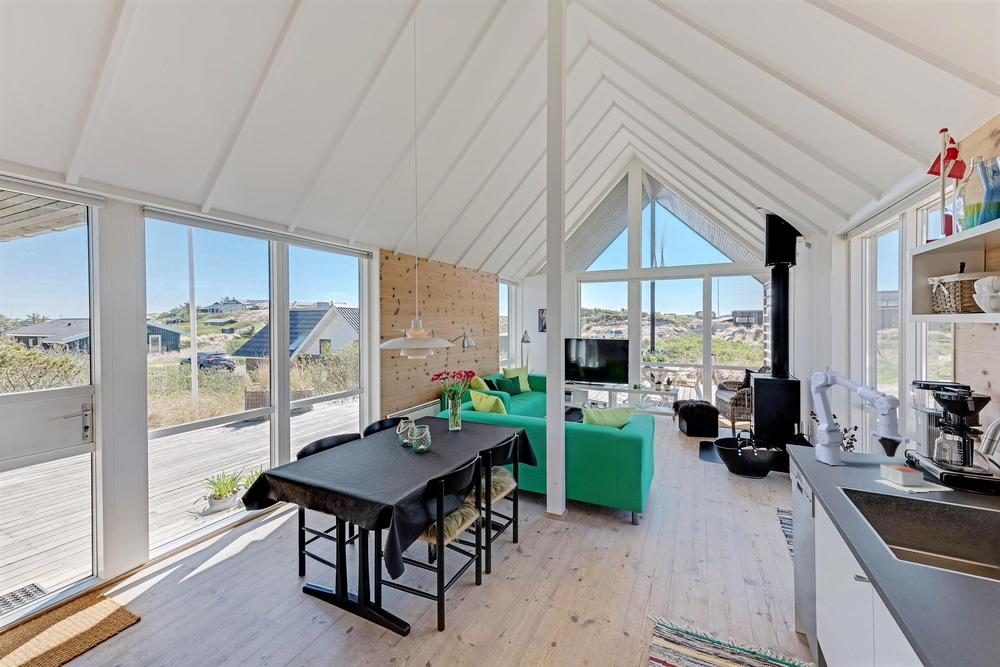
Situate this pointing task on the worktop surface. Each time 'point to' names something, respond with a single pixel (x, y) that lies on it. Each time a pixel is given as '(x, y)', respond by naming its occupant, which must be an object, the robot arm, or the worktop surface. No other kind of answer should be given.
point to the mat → (926, 488)
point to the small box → (902, 475)
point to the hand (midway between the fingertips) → (890, 456)
